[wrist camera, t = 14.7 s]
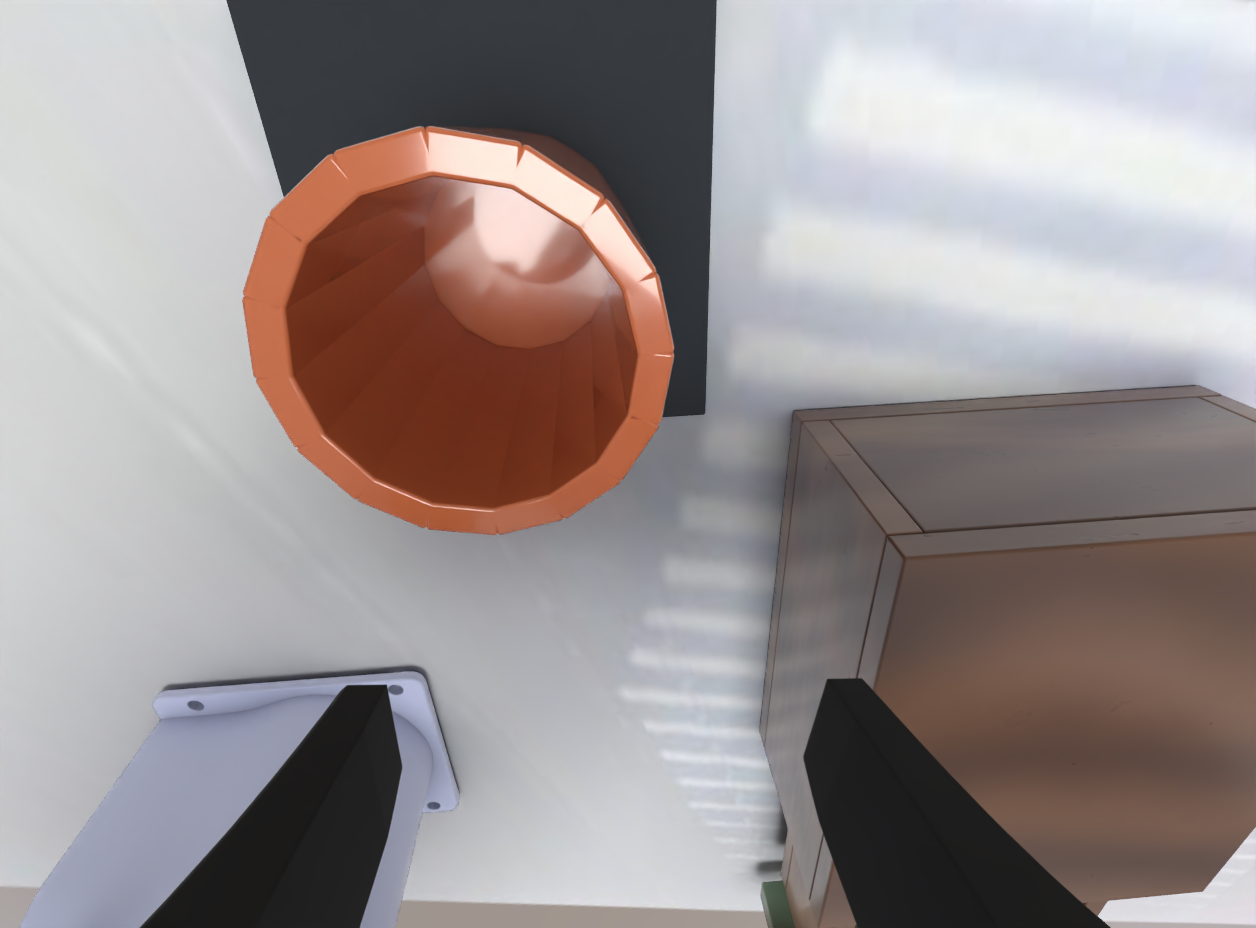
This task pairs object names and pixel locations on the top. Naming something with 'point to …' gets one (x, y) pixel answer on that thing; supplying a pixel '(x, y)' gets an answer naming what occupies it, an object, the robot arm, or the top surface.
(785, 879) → the drawer
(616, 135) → the mat
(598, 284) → the tumbler
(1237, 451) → the cabinet
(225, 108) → the top surface
